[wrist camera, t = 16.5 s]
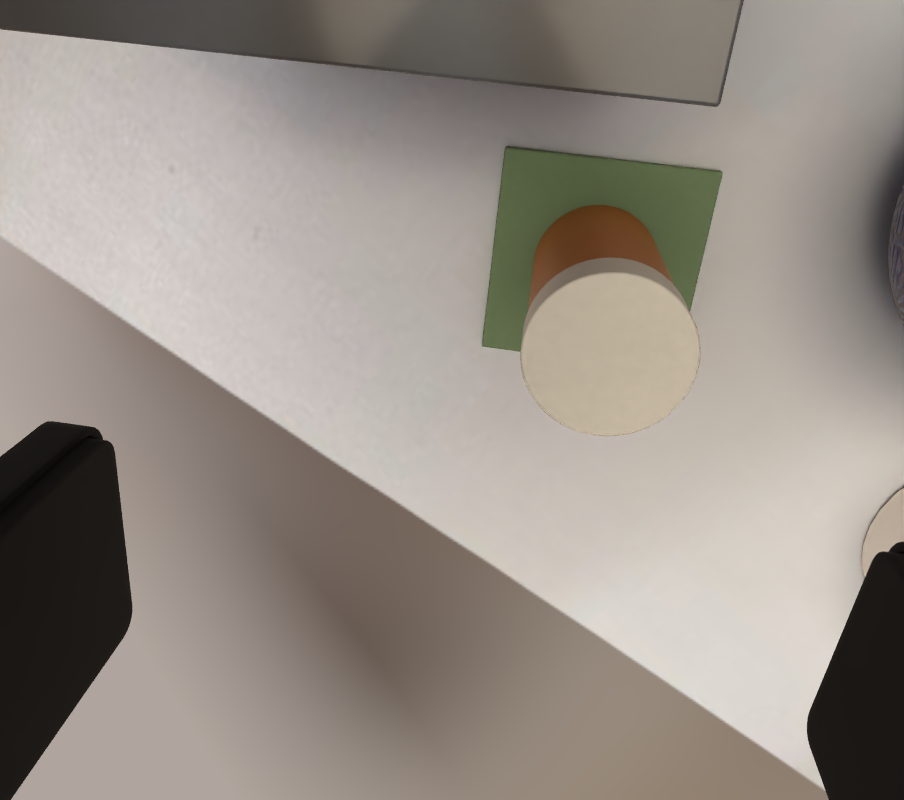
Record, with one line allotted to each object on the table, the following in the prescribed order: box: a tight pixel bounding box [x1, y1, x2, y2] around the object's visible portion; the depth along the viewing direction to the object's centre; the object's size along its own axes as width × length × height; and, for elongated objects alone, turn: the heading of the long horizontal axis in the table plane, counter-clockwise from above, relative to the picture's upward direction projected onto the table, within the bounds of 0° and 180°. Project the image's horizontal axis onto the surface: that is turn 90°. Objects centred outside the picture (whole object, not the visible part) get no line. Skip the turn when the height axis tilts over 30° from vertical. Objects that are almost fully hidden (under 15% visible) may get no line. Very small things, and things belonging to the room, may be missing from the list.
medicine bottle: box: [520, 205, 700, 436], centre depth 33 cm, size 6×6×12 cm
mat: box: [482, 147, 722, 351], centre depth 38 cm, size 10×10×1 cm
